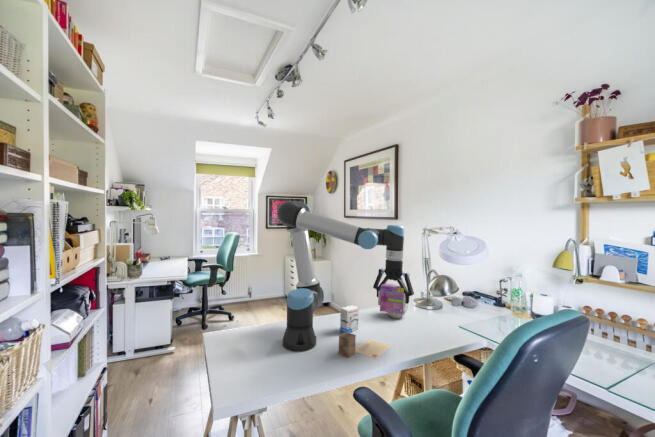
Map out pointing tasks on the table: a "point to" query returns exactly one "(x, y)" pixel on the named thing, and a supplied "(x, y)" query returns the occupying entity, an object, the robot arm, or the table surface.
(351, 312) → the ink box
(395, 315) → the vase
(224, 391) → the table surface
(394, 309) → the box
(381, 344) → the letter
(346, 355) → the block
